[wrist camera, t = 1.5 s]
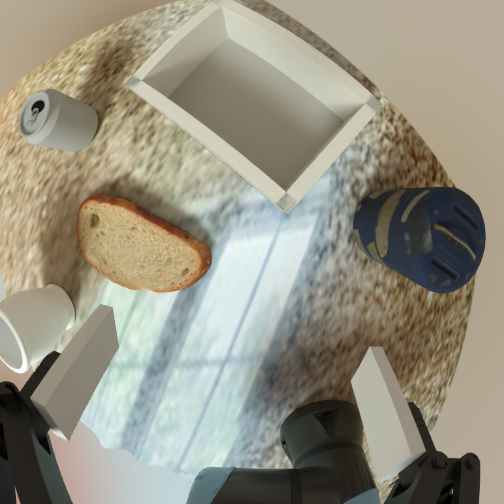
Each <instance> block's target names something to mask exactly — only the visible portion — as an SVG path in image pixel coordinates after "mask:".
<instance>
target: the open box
mask: <svg viewBox="0 0 504 504" xmlns="http://www.w3.org/2000/svg"><path fill="white" fill-rule="evenodd" d="M125 86H126V87H128V88H129V89H130V90H131V91H133V92H134V93H135V94H137V95H138V96H139V97H140V98H142V99H143V100H144V101H145V102H147V103H148V104H149V105H150V106H152V107H153V108H154V109H156V110H157V111H158V112H160V113H161V114H162V115H164V116H165V117H166V118H168V119H169V120H170V121H172V122H173V123H174V124H176V125H177V126H178V127H180V128H181V129H182V130H184V131H185V132H186V133H187V134H189V135H190V136H191V137H193V138H194V139H195V140H196V141H198V142H199V143H200V144H201V145H203V146H204V147H205V148H207V149H208V150H209V151H210V152H212V153H213V154H214V155H215V156H217V157H218V158H219V159H220V160H221V161H223V162H224V163H225V164H226V165H228V166H229V167H230V168H231V169H232V170H234V171H235V172H236V173H237V174H239V175H240V176H241V177H242V178H243V179H245V180H246V181H247V182H248V183H249V184H251V185H252V186H253V187H254V188H255V189H256V190H258V191H259V192H260V193H261V194H262V195H263V196H265V197H266V198H267V199H268V200H269V201H270V202H272V203H273V204H274V205H275V206H276V207H277V208H279V209H280V210H281V211H283V212H285V213H286V214H288V213H289V212H290V211H291V210H292V209H293V208H294V207H295V205H296V204H297V203H298V202H299V201H300V200H301V199H302V197H303V196H304V195H305V194H306V193H307V192H308V191H309V189H310V188H311V187H312V186H313V185H314V184H315V183H316V181H317V180H318V179H319V178H320V177H321V176H322V175H323V173H324V172H325V171H326V170H327V169H328V168H329V167H330V165H331V164H332V163H333V162H334V161H335V160H336V159H337V157H338V156H339V155H340V154H341V153H342V152H343V151H344V149H345V148H346V147H347V146H348V145H349V144H350V143H351V141H352V140H353V139H354V138H355V137H356V136H357V134H358V133H359V132H360V131H361V130H362V129H363V128H364V126H365V125H366V124H367V123H368V122H369V121H370V120H371V118H372V117H373V116H374V115H375V114H376V113H377V112H378V110H379V109H380V108H381V107H382V106H383V104H382V103H381V102H380V101H379V100H378V99H377V98H375V97H374V96H373V95H372V94H371V93H370V92H369V91H368V90H367V89H366V88H364V87H363V86H362V85H361V84H360V83H359V82H358V81H356V80H355V79H354V78H353V77H352V76H351V75H349V74H348V73H347V72H346V71H344V70H343V69H342V68H341V67H339V66H338V65H337V64H336V63H334V62H333V61H332V60H330V59H329V58H328V57H326V56H325V55H324V54H322V53H321V52H319V51H318V50H317V49H315V48H314V47H312V46H311V45H310V44H308V43H307V42H305V41H304V40H302V39H301V38H299V37H298V36H296V35H294V34H293V33H291V32H290V31H288V30H286V29H285V28H283V27H282V26H280V25H278V24H276V23H275V22H273V21H271V20H269V19H268V18H266V17H264V16H262V15H260V14H259V13H257V12H255V11H253V10H251V9H249V8H247V7H245V6H243V5H241V4H239V3H237V2H235V1H232V0H214V1H213V2H211V3H210V4H209V5H207V6H206V7H205V8H204V9H202V10H201V11H200V12H199V13H197V14H196V15H195V16H194V17H192V18H191V19H190V20H189V21H188V22H187V23H185V24H184V25H183V26H182V27H181V28H180V29H178V30H177V31H176V32H175V33H174V34H173V35H172V36H171V37H170V38H169V39H168V40H167V41H165V42H164V43H163V44H162V45H161V46H160V47H159V48H158V49H157V50H156V51H155V52H154V53H153V54H152V55H151V56H150V57H149V58H148V59H147V61H146V62H145V63H144V64H143V65H142V66H141V67H140V68H139V69H138V70H137V71H136V72H135V74H134V75H133V76H132V77H131V78H130V79H129V80H128V82H127V83H126V84H125Z"/></svg>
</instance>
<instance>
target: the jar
mask: <svg viewBox="0 0 504 504" xmlns="http://www.w3.org/2000/svg"><path fill="white" fill-rule="evenodd" d="M74 321H75V310H74V306H73V304H72V301H71V299H70V298H69V296H68V295H67V293H66V292H65V291H64V290H63V289H62V288H61V287H59V286H57V285H54V284H49V285H47V286H46V287H45V288H34V289H30V290H25V291H20V292H17V293H15V294H13V295H11V296H9V297H7V298H6V299H4V300H3V301H2V302H1V303H0V359H1V360H2V361H3V362H4V363H5V364H6V365H7V366H8V367H9V368H10V369H11V370H13V371H14V372H16V373H20V374H21V373H24V372H26V371H27V370H28V369H29V367H30V364H32V363H34V362H36V361H38V360H40V359H42V358H43V357H44V356H46V355H47V354H48V353H49V352H50V351H51V350H52V349H53V348H54V347H55V345H56V344H57V342H58V341H59V340H60V339H61V338H62V336H63V335H64V333H65V331H66V330H67V329H70V328H71V327H72V326H73V324H74Z"/></svg>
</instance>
